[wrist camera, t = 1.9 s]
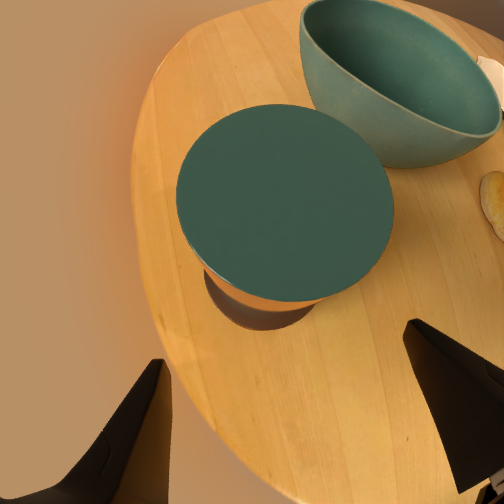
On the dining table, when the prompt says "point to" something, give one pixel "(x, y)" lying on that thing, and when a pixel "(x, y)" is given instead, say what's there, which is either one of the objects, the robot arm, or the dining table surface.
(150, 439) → the robot arm
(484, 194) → the bread roll
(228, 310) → the stand
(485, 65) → the plate
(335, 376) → the dining table surface
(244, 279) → the teal cylinder
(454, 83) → the teal bowl
